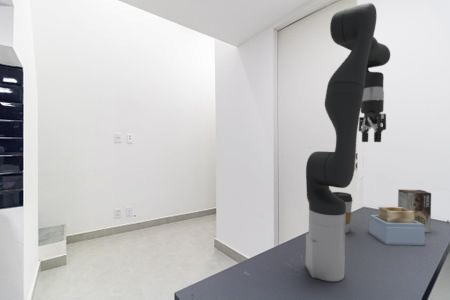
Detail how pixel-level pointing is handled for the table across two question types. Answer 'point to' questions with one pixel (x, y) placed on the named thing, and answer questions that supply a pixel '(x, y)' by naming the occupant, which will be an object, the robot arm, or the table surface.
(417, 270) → the table surface
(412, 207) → the coffee box
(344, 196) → the coffee cup
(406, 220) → the small crate
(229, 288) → the table surface
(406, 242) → the base crate
